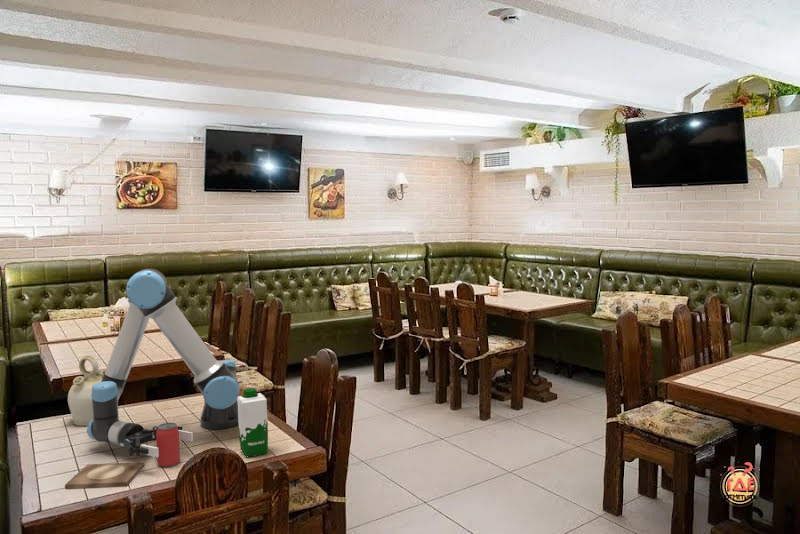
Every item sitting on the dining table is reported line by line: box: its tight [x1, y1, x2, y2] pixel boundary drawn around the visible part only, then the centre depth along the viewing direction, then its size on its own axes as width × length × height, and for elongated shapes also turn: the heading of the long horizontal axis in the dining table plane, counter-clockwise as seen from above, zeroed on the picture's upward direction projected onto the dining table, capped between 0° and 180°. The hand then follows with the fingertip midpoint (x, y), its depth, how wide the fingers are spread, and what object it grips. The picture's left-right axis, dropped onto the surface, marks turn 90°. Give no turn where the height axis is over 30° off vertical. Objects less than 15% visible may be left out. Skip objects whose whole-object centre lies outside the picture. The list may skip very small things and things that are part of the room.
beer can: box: [155, 422, 181, 468], centre depth 185 cm, size 7×7×12 cm
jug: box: [67, 355, 105, 427], centre depth 226 cm, size 15×16×25 cm
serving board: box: [64, 461, 145, 490], centre depth 177 cm, size 17×14×2 cm
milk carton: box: [237, 387, 269, 458], centre depth 192 cm, size 9×9×20 cm
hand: (175, 444), depth 184 cm, fingers open, 13 cm apart
